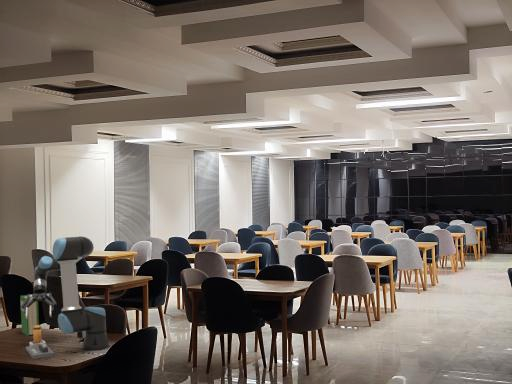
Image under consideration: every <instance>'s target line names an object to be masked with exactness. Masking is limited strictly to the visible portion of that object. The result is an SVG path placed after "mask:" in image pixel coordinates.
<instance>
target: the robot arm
mask: <svg viewBox="0 0 512 384" xmlns="http://www.w3.org/2000/svg"><path fill="white" fill-rule="evenodd" d="M93 251H94V243H93V241H92V240H91V239H90V238H88V237H86V236H71V237H69V236H68V237H60V238H59V237H58V238H57V239H55V240H54V243H53V244H52V257H53V258H52V257H50V256H47V255H44V256H41V258H40V260H39V261H38V264H37V266H36V267H35V268H34V271H33V277H34V278H33V291H32V294H30V293H27V294H26V295H27V298H26V299H25V301H24V302H23V304H22V305H21V304H20V309H21V308H22V309H24V313H25V314H26V319H27V317H28V307H30V306H31V305H32V304H33V303H34V302H35V301H38V302H44V303H46V304H47V305H48V306H49V317H50V318H52V312H54V310H55V309H54V308H56V307H57V306H58V305H57V304H58V303H57V301H56V300H55V299H54V297H53V296H52V292H48V293H47V283H48V282H47V281H48V279H47V278H48V275H49V273H50V272H55V271H60V279H61V291H62V294H61V295H62V304H63V307H62V308H61V310H60V313H59V314H58V316H57V324H58V328H59V329H60V331H61V333H63V334H66V335H67V334H70V335H71V334H75V333H78V332H82V331H86V335H85V338H83V339H84V340H83V343H82V349H83V350H87V351H97V350H105V349H108V348H109V347H110V345H111V342H110V340H109V337H108V334H107V324H106V323H107V318H106V316H107V315H106V309H105V308H104V307H100V306H99V307H98V306H86V307H84V309H83V307H82V306H81V305H80V298H79V290H78V289H79V288H78V277H77V276H78V275H77V265H76V264H77V263H78V262H79V261H80V260H82V259H83V258H87V257H89V256H91V254H92V253H93ZM31 297H33V298H32V300H30V299H31ZM47 297H48V298H49V299H50V300H49V299H48V298H47ZM29 300H30V301H29ZM28 301H29V302H28Z"/></svg>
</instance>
